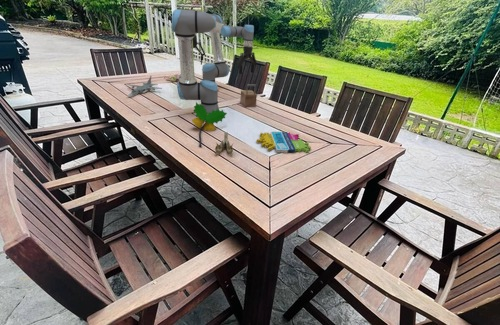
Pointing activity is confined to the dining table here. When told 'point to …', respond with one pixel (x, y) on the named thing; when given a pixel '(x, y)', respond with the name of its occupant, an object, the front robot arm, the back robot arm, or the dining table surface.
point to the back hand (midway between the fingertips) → (246, 73)
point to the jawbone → (224, 145)
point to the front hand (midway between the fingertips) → (192, 64)
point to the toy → (173, 77)
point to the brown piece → (249, 91)
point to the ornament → (207, 117)
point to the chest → (248, 100)
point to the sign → (283, 142)
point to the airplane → (142, 88)
